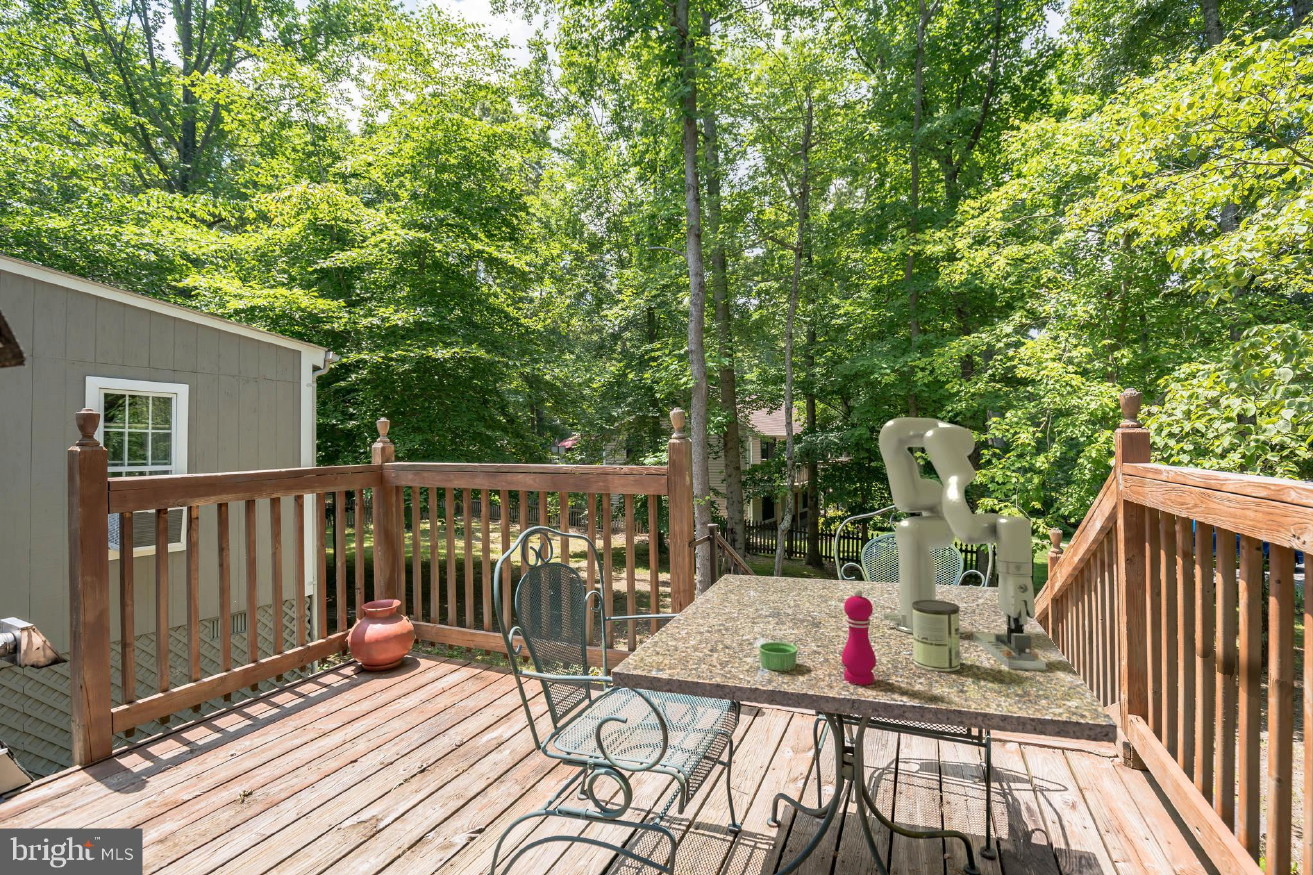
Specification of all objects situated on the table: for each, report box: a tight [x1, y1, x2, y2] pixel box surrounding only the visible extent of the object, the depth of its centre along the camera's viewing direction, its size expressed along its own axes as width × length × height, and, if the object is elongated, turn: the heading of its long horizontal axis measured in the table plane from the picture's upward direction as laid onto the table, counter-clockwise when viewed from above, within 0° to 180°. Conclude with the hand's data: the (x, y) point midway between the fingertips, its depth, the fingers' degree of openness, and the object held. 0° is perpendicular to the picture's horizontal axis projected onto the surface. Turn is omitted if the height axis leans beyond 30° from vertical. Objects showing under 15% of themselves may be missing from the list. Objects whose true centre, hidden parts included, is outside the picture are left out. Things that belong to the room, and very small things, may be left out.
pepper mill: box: [841, 588, 877, 686], centre depth 143 cm, size 7×7×20 cm
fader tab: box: [1011, 633, 1032, 655], centre depth 154 cm, size 4×2×5 cm, turn 83°
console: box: [972, 632, 1046, 671], centre depth 161 cm, size 8×23×4 cm, turn 173°
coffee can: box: [912, 599, 961, 673], centre depth 153 cm, size 10×10×14 cm
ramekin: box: [758, 641, 799, 671], centre depth 153 cm, size 9×9×4 cm
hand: (1015, 644), depth 157 cm, fingers closed
